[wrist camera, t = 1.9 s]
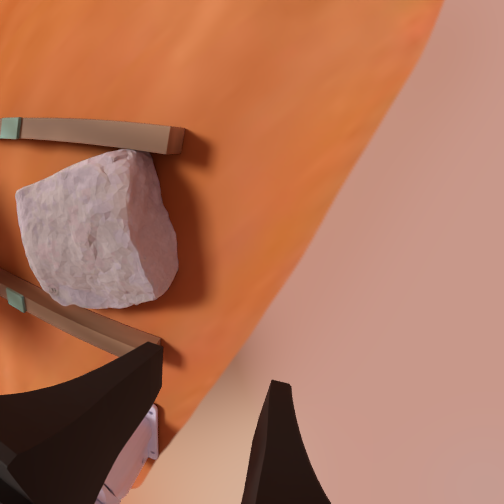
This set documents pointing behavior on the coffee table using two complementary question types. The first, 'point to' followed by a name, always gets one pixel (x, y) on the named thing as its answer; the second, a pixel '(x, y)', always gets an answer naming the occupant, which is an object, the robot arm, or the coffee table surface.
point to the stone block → (99, 232)
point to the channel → (36, 299)
